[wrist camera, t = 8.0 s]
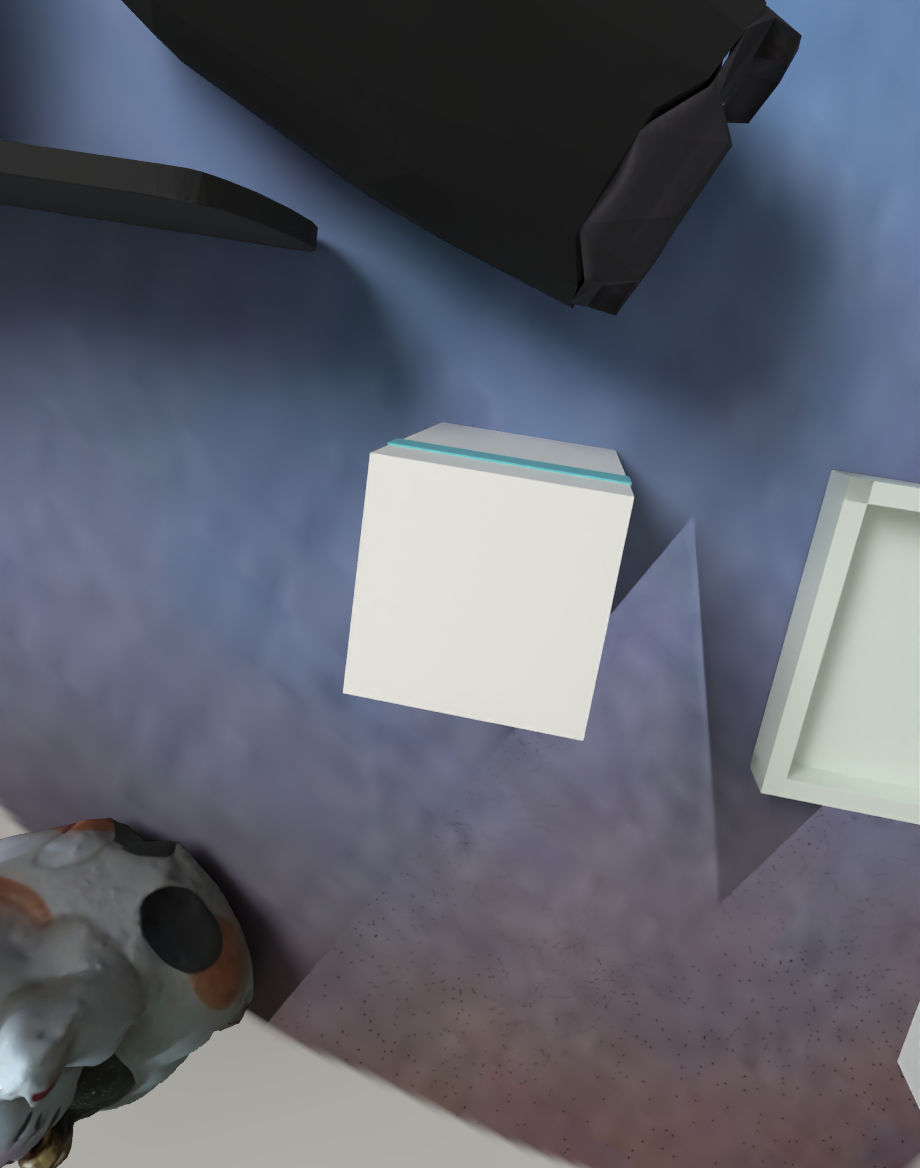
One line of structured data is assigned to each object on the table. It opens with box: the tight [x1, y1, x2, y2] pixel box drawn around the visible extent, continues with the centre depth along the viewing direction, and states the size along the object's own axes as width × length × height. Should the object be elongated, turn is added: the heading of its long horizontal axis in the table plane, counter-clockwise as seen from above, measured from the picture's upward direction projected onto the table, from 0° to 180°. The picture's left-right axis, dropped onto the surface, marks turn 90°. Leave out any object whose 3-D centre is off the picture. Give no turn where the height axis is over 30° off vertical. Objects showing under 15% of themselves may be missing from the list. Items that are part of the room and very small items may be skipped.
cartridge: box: [343, 422, 634, 741], centre depth 24 cm, size 6×6×10 cm
